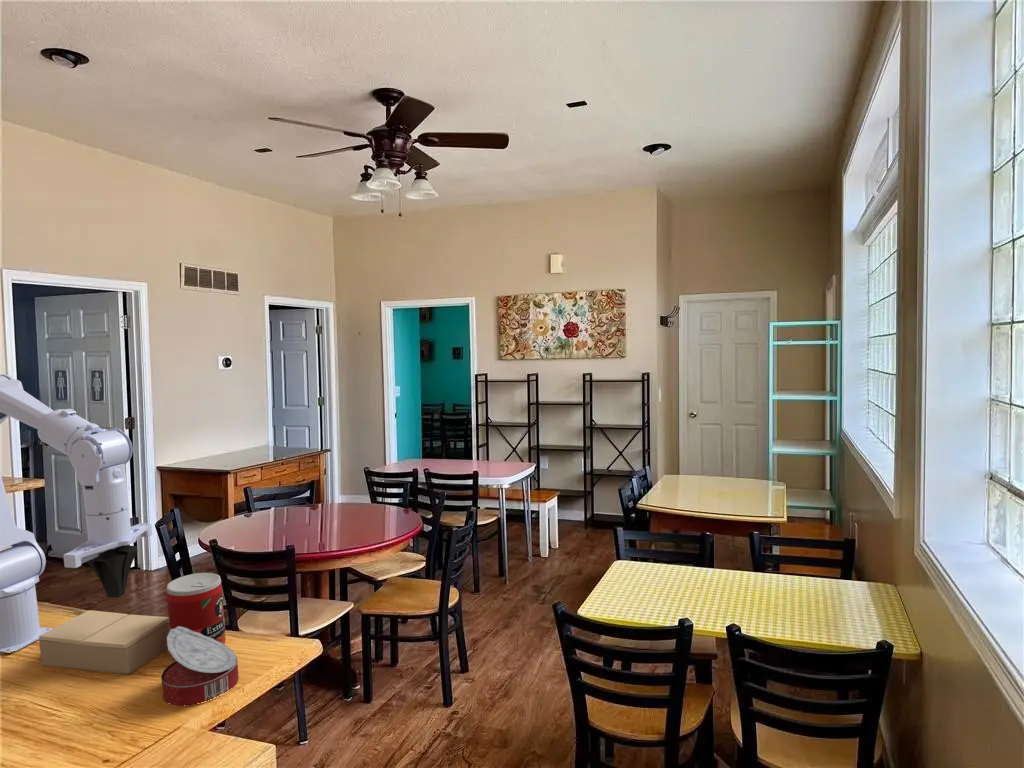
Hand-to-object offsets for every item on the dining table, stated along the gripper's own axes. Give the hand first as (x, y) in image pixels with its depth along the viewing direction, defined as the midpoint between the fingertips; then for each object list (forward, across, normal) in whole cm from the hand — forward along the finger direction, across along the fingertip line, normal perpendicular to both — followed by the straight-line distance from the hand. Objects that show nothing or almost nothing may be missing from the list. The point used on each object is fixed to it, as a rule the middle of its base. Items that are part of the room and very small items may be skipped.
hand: (115, 595), depth 103 cm
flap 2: (+6, 0, -2) cm, 6 cm away
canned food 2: (+10, -5, -19) cm, 22 cm away
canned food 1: (+10, +4, -11) cm, 15 cm away
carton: (+10, 0, +2) cm, 10 cm away
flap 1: (+6, 0, +6) cm, 9 cm away
